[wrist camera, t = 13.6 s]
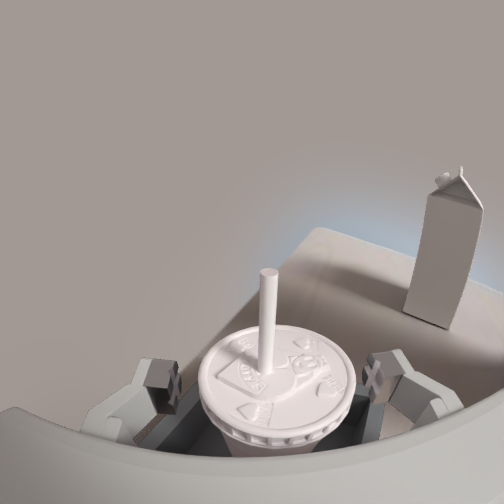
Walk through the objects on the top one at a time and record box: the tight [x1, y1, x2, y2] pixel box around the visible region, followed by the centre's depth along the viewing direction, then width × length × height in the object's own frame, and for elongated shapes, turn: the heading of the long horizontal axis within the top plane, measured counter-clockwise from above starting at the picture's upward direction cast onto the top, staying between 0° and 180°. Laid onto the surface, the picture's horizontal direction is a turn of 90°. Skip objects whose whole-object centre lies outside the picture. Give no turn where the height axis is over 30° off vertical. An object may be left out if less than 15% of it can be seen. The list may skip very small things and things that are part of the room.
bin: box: [137, 381, 385, 457], centre depth 13 cm, size 12×12×4 cm
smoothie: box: [198, 268, 356, 457], centre depth 11 cm, size 6×6×14 cm
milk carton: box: [403, 166, 484, 330], centre depth 27 cm, size 7×7×19 cm
